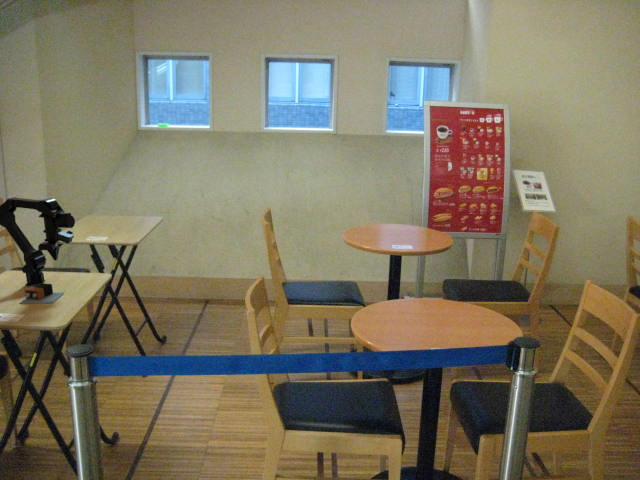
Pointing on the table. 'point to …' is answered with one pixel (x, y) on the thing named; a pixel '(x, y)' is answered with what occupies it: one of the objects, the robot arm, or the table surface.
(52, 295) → the mat
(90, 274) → the table surface
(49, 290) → the battery
